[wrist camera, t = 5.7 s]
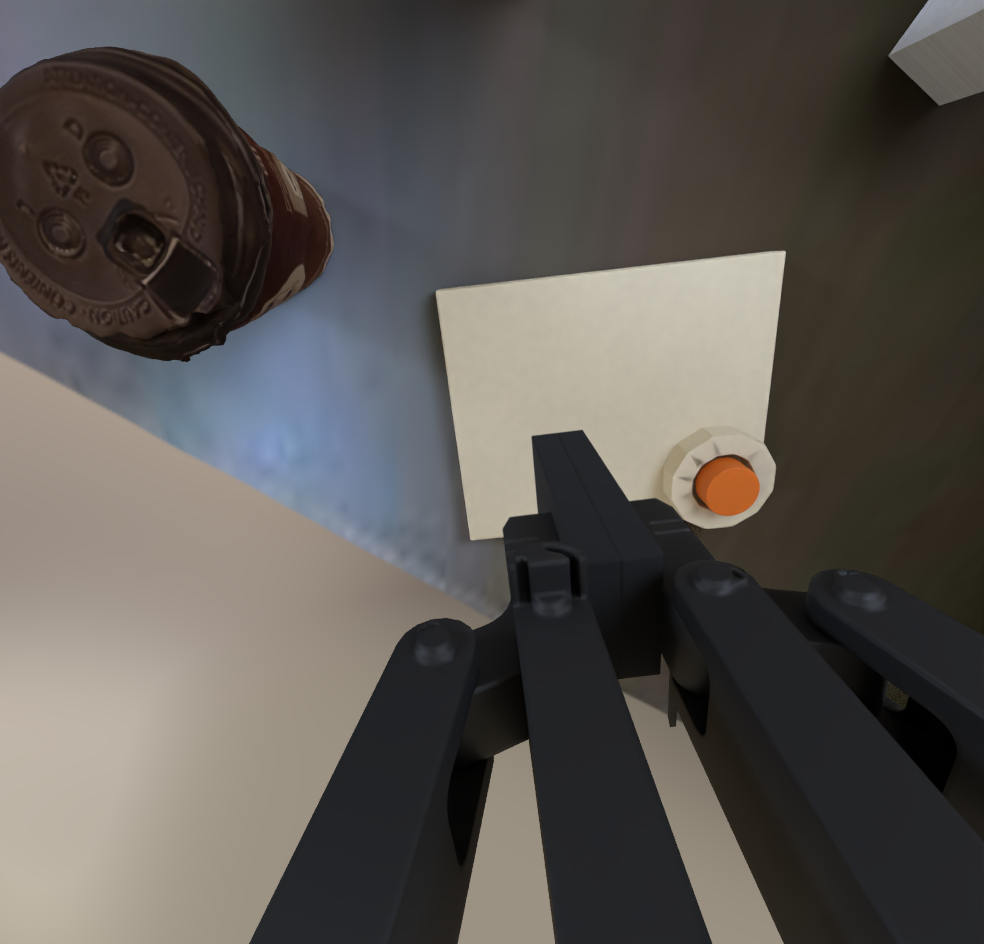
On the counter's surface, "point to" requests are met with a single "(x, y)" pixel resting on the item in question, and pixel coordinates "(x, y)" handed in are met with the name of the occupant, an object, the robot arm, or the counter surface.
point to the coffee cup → (147, 205)
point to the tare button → (727, 486)
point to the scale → (614, 378)
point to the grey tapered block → (945, 49)
